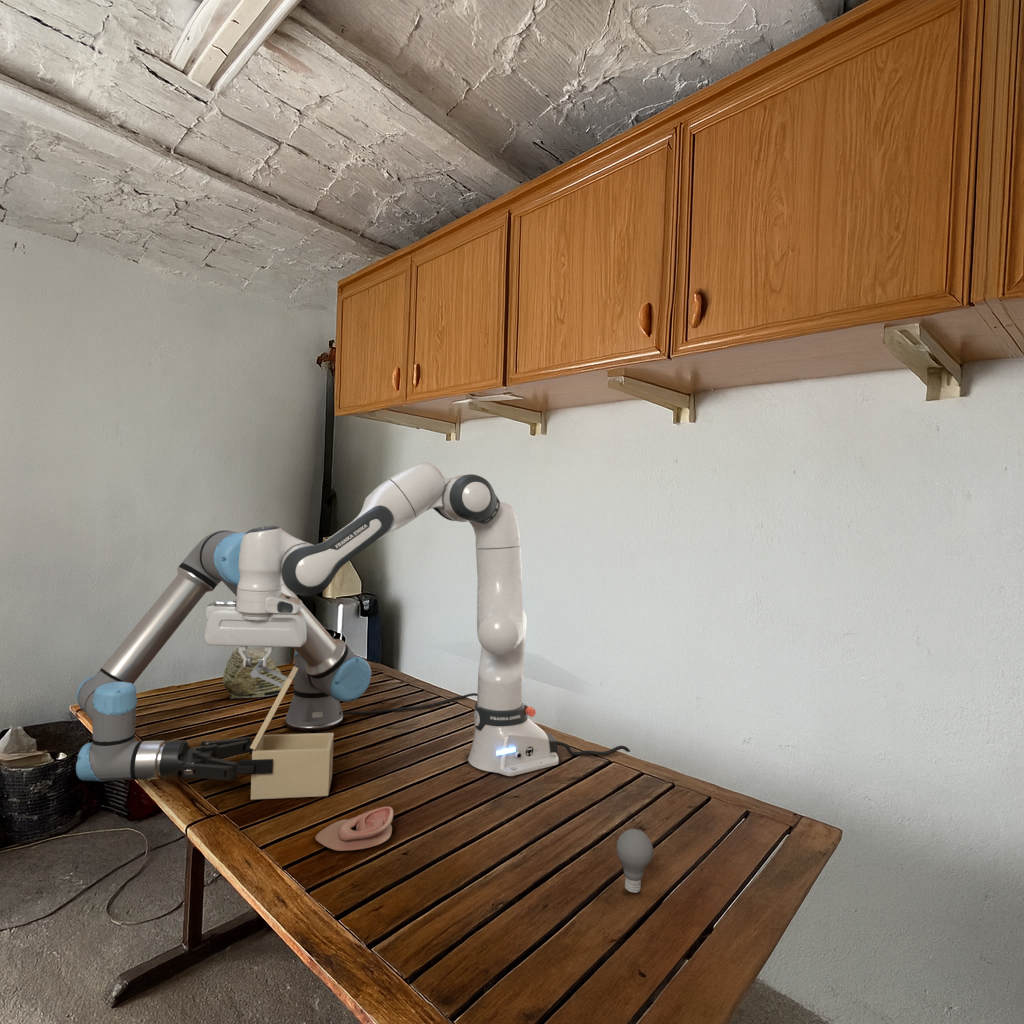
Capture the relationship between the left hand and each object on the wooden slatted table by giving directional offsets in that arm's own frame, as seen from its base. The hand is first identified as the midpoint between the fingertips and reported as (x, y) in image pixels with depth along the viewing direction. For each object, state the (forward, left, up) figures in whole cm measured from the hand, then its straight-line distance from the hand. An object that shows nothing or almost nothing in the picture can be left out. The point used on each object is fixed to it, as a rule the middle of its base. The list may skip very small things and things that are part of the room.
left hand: (276, 756), depth 137 cm
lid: (0, 0, +11) cm, 11 cm away
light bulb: (-20, +75, -7) cm, 78 cm away
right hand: (+4, -3, +20) cm, 20 cm away
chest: (-3, +2, -7) cm, 8 cm away
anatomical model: (0, +28, -7) cm, 29 cm away
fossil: (-29, -61, -7) cm, 68 cm away
